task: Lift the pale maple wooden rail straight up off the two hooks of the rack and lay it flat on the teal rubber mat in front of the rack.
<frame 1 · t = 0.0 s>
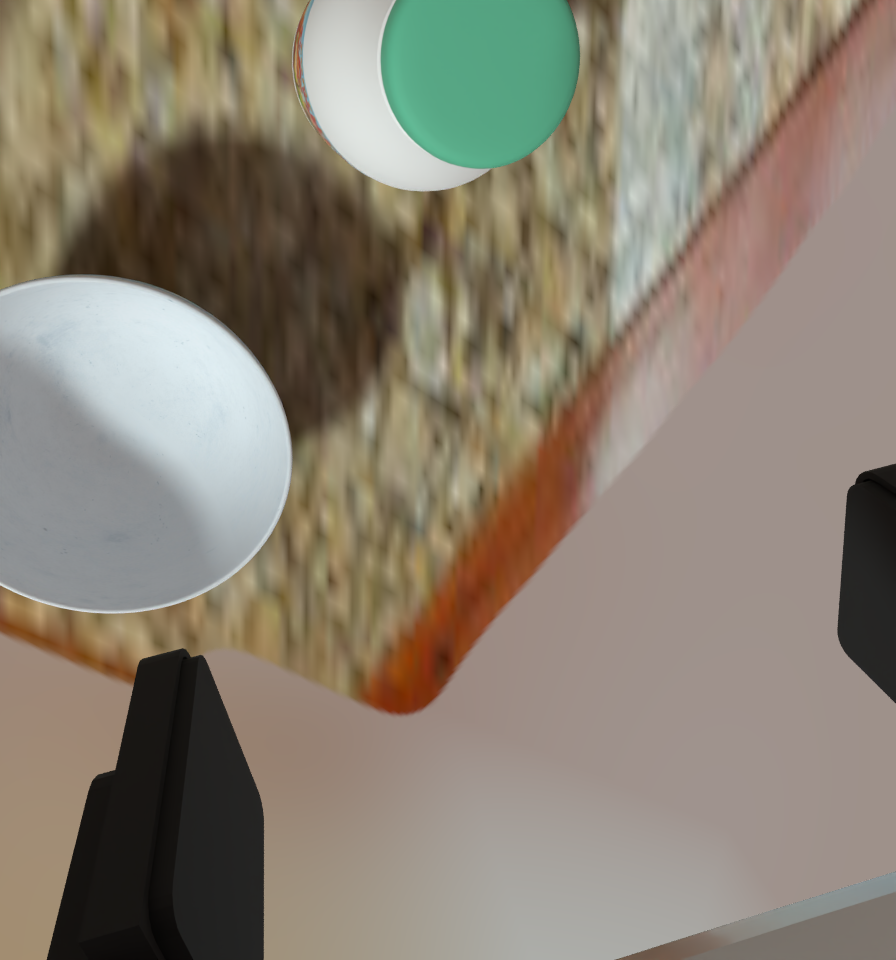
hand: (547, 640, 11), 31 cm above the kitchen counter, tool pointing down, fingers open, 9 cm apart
milk bottle: (379, 70, 36), on the kitchen counter
chinaware: (133, 395, 40), on the kitchen counter
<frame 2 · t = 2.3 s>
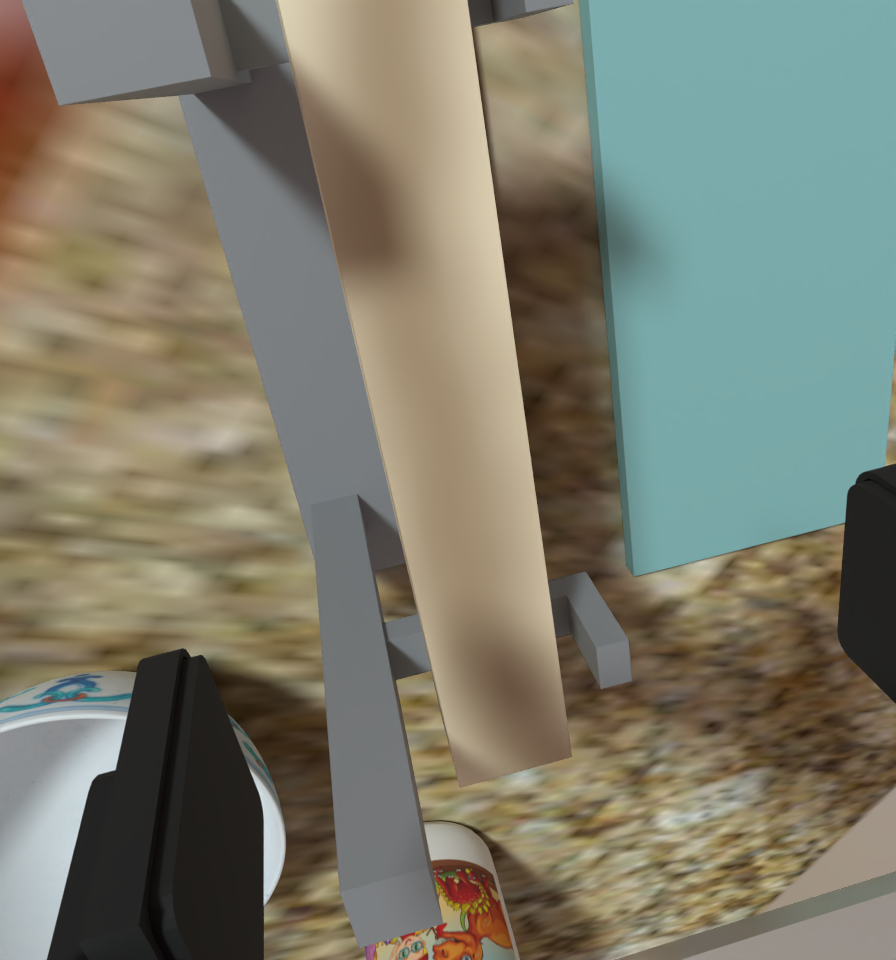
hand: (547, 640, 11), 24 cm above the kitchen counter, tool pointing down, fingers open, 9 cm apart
milk bottle: (424, 862, 47), on the kitchen counter
rail: (431, 380, 22), point 11 cm above the kitchen counter, touching rack
mat: (748, 233, 34), on the kitchen counter
chinaware: (126, 725, 39), on the kitchen counter
rack: (371, 291, 32), on the kitchen counter
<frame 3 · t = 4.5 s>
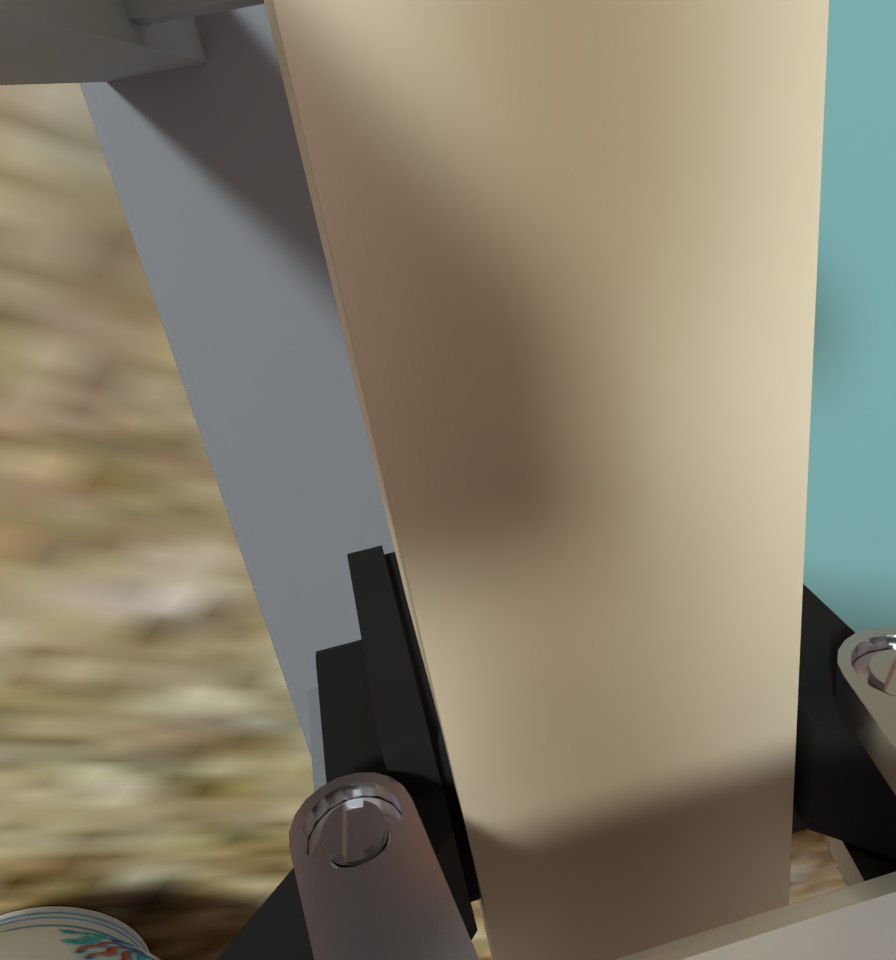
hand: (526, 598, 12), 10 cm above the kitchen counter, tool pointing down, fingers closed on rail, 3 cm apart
rail: (551, 648, 11), point 11 cm above the kitchen counter, touching gripper, rack
rack: (398, 384, 21), on the kitchen counter
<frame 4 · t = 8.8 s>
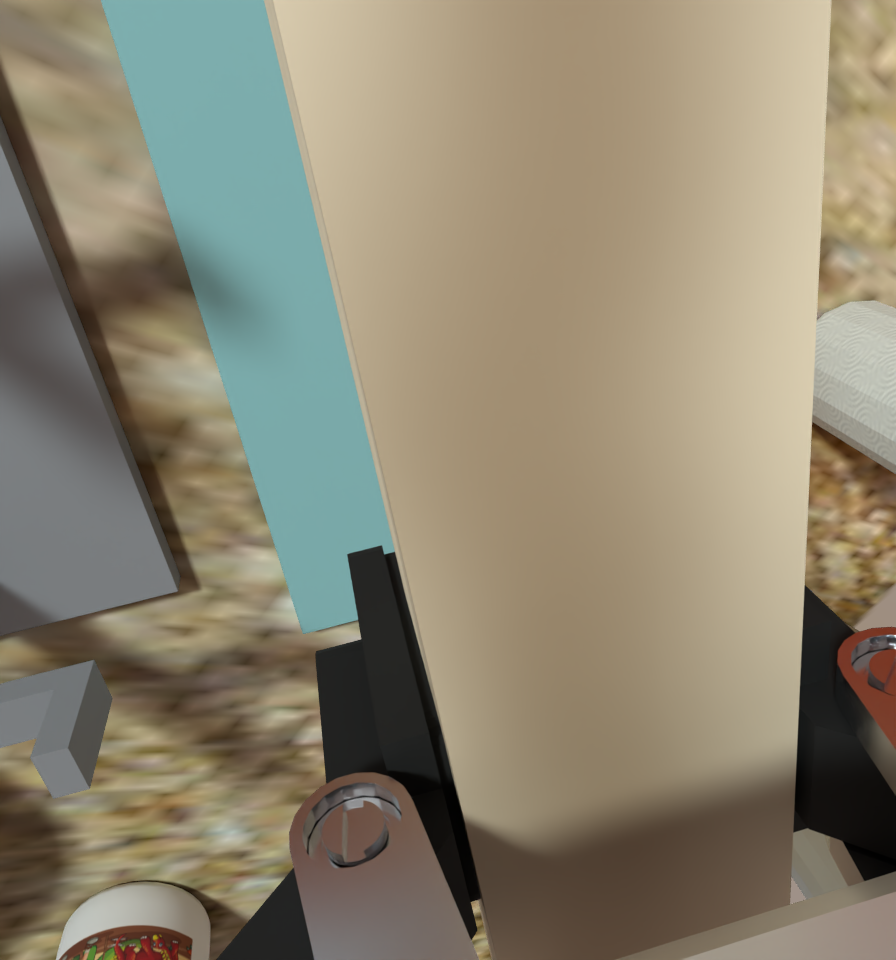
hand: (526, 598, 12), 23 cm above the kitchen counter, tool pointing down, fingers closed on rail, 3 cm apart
milk bottle: (140, 921, 45), on the kitchen counter
rail: (551, 647, 11), point 24 cm above the kitchen counter, touching gripper
mat: (368, 281, 32), on the kitchen counter
paper towel roll: (840, 371, 39), on the kitchen counter
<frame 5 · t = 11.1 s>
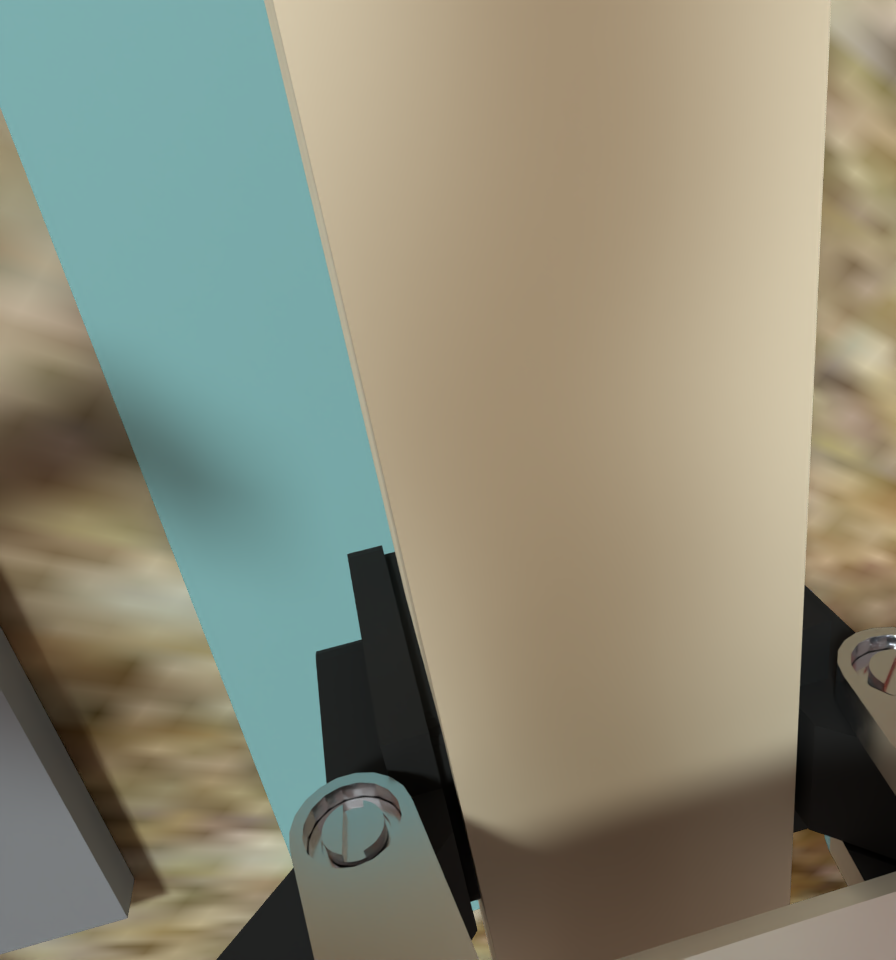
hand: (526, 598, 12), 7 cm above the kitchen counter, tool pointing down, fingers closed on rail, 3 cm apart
rail: (551, 646, 11), point 8 cm above the kitchen counter, touching gripper
mat: (449, 434, 19), on the kitchen counter
when the fingers open (1 cm above the kitchen counter, at t = 13.1 s): rail drops 2 cm, resting on mat.
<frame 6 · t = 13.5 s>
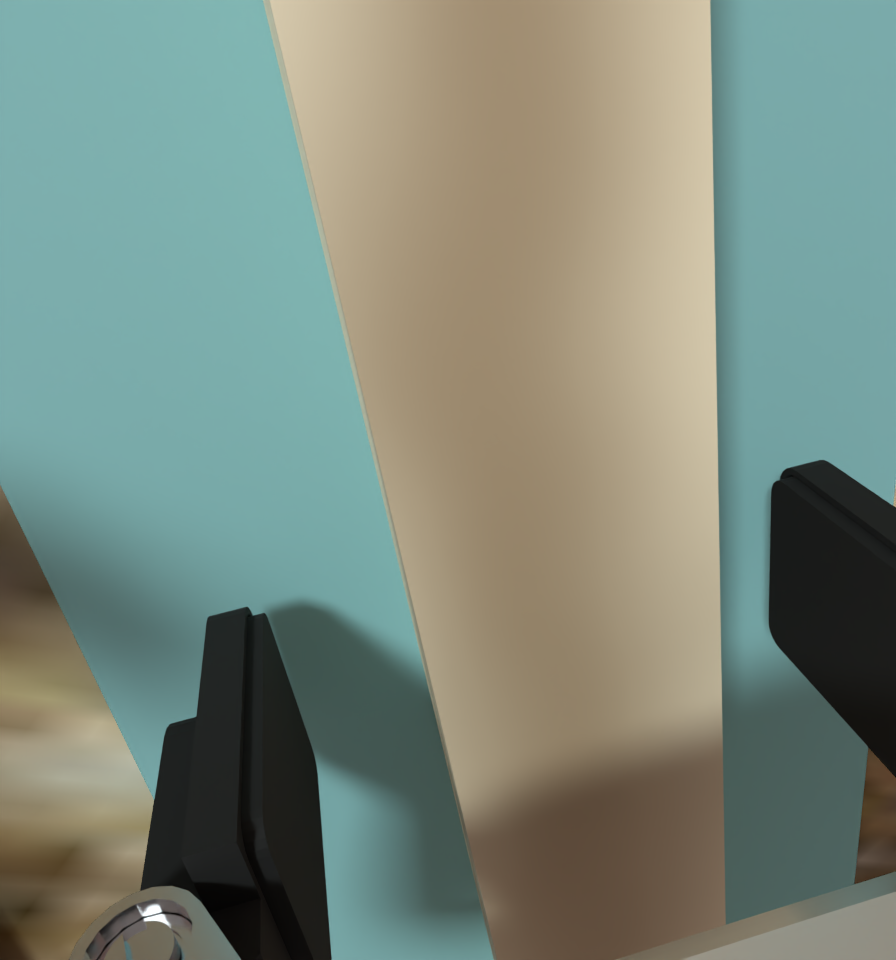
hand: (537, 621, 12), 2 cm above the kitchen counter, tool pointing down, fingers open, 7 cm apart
rail: (520, 581, 13), point 1 cm above the kitchen counter, touching mat
mat: (501, 549, 14), on the kitchen counter
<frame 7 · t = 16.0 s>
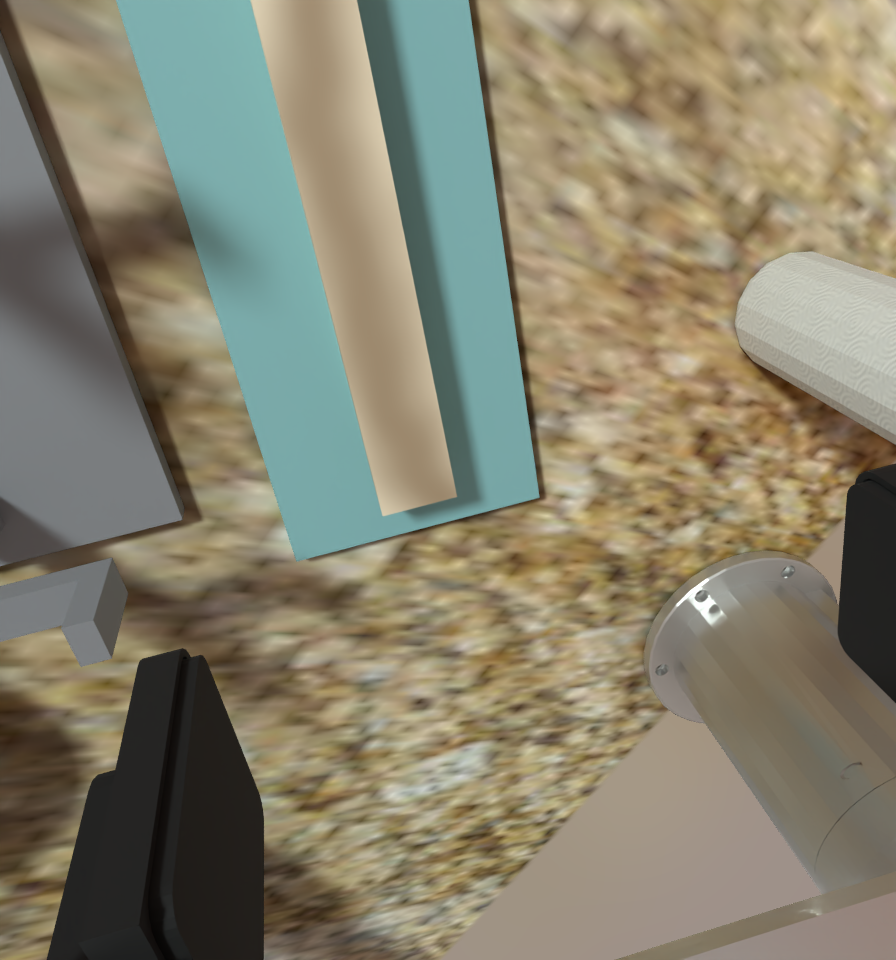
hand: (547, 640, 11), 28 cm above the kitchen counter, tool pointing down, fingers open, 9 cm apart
rail: (354, 237, 35), point 1 cm above the kitchen counter, touching mat
mat: (350, 234, 36), on the kitchen counter
paper towel roll: (783, 318, 42), on the kitchen counter
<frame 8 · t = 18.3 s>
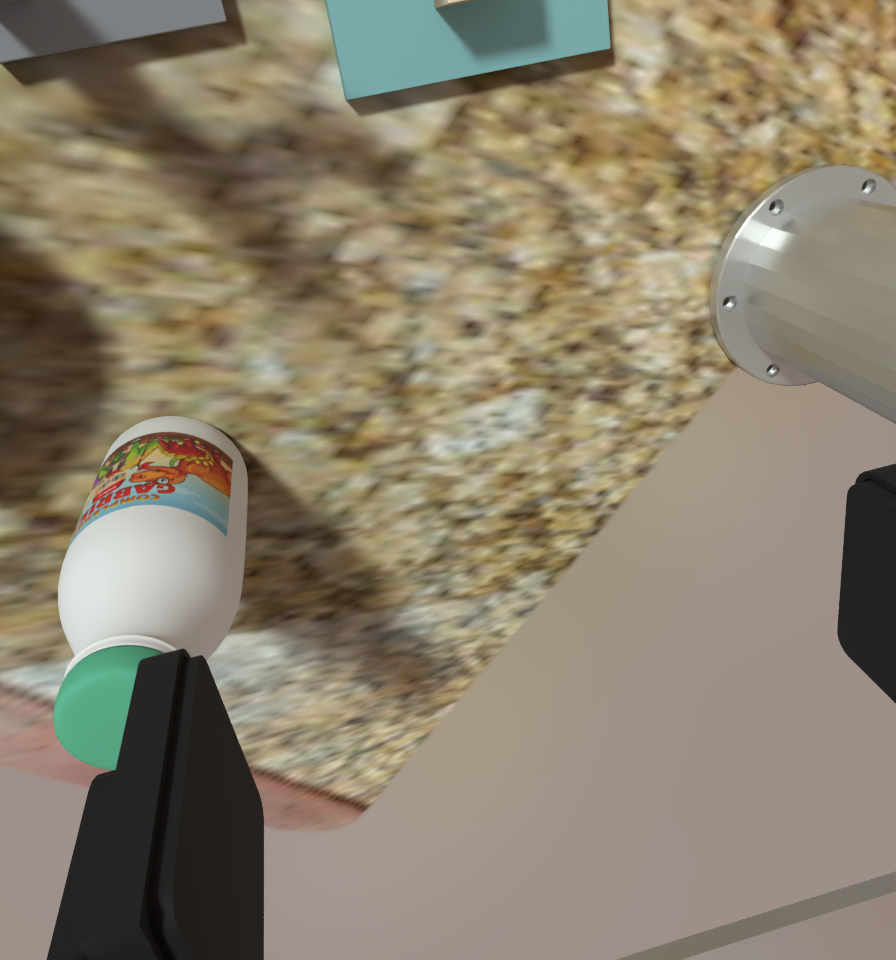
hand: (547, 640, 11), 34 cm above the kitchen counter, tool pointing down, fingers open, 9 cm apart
milk bottle: (177, 474, 46), on the kitchen counter
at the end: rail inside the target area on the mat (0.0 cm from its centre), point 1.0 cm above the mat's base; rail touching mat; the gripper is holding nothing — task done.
